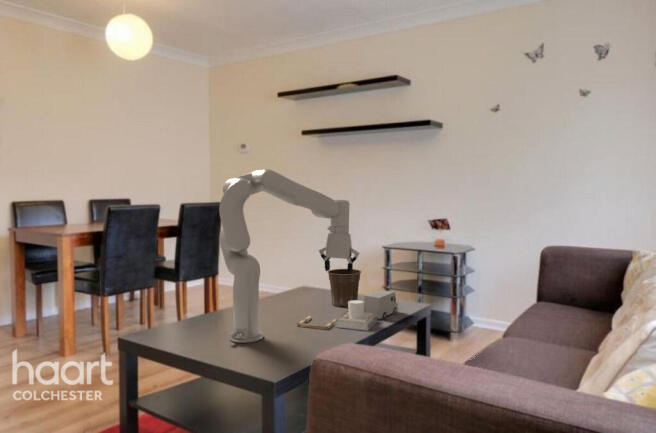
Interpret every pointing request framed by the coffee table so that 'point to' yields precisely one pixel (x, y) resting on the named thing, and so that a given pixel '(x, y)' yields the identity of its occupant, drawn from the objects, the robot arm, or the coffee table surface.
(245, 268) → the robot arm
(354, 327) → the plate
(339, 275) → the plant pot
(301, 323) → the cradle
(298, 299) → the coffee table surface
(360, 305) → the white cup
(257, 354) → the coffee table surface
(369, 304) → the toy vehicle
